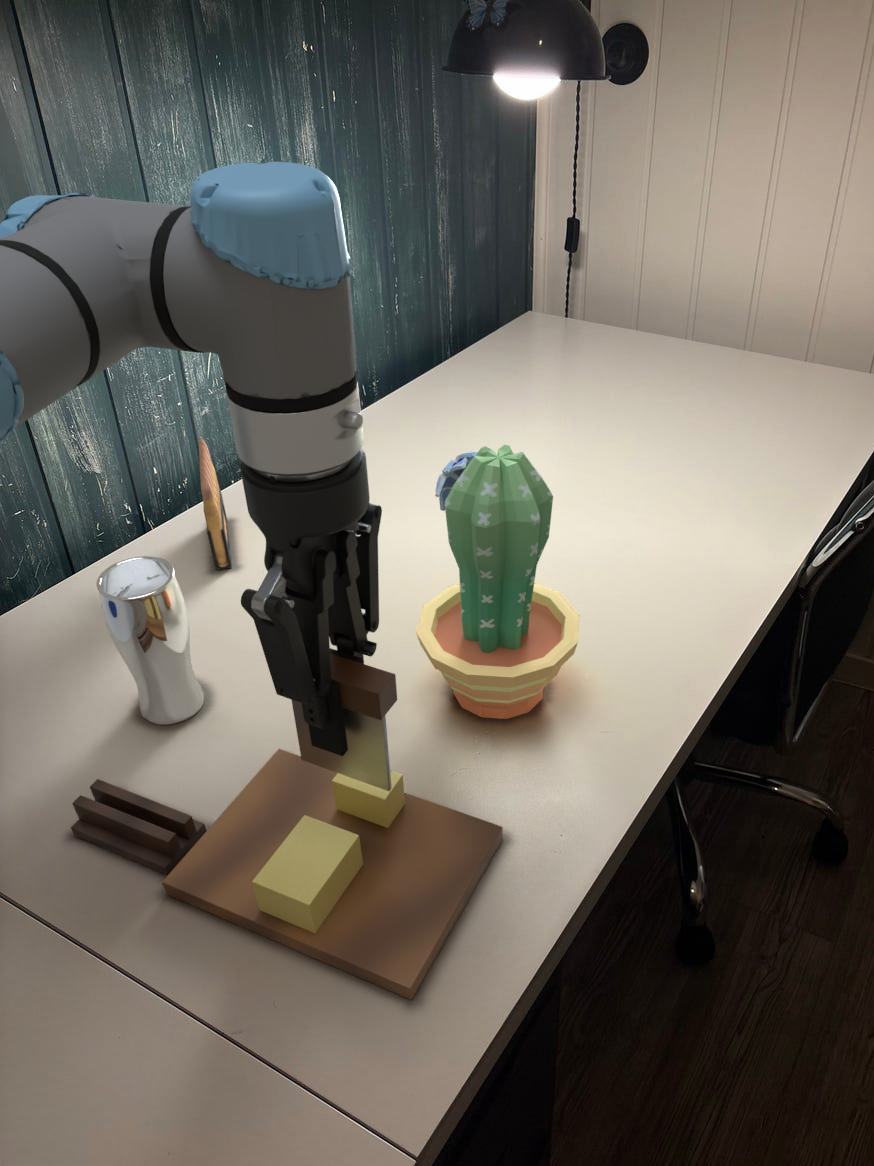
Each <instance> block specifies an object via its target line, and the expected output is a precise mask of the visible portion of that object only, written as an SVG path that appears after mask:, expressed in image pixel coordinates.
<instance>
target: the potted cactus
mask: <svg viewBox="0 0 874 1166" xmlns="http://www.w3.org/2000/svg"><path fill="white" fill-rule="evenodd" d="M441 472H442V473H440V474H439V476H438V478H437V481H436V485H435V495H434V497H436V498H439V499H438V500H439V509H440V511H442V512H445V520H446V529H447V539H448V544H449V547H450V550H451V552H452V554H453V558H454V559H455V562H456V564H457V567H458V576H459V583H458V584H454V585H450V586H448V587H446V588H445V589H443V591H441V592H440V593H439V594H437V595H436V596H435V597H433V598H431V600H430V601H428V602H426V603H425V604H424V605H422V609H421V612H420V615H419V619H418V623H417V626H416V630H415V634H416V636H417V639H418V643H419V645H420V646H421V648H422V649H423V651H424V654H426V656H427V658H428V659H429V661H430V663H431V664H432V666H433V668H434V669H435V670H436V671H439V672H440V673H441V675H442V677H443V678H444V679H445V681H446V683H447V684H448V686H449V687H450V688H451V689H452V694H453V696H454V697H455V698H456V700H457V702H458V703H459V705H460V706H461V708H462V709H464V710H466V711H469V712H470V713H472V714H474V715H476V716H478V717H480V718H483V719H484V718H485V719H498V720H499V719H500V720H508V719H511V718H514V717H518V716H521V715H525V714H528V713H530V711H531V710H533V708H535V707H536V706H537V705H538V704H539V703H540V702H541V701H542V700H543V699H544V698H543V697H544V688H545V687H546V686H547V685H549V684H550V682H552V681H553V680H554V678H556V677H557V675H558V673H559V671H560V670H561V667H562V666H564V664H565V663H566V662H568V660H569V659H570V658H571V657H572V656H574V654H575V652H576V649H577V646H578V643H579V634H580V633H579V632H580V619H581V617H580V614H579V613H578V611H576V610H575V608H574V607H573V606H572V605H571V604H570V602H569V601H568V600H567V599H566V598H565V596H564V595H563V594H562V593H561V592H559V591H556V590H554V589H551V588H549V587H546V586H544V585H541V584H540V583H537V582H535V580H536V574H537V567H538V563H539V561H540V560H541V559H540V558H541V556H542V554H543V552H544V549H545V547H546V544H547V542H548V540H549V538H550V531H551V521H552V520H551V519H552V511H553V501H554V495H553V493H552V490H551V489H550V487H549V486H548V484H547V483H546V481H545V479H544V478H543V476H542V475H541V473H540V472H539V471H538V469H536V467H535V466H534V465H533V464H532V462H531V461H530V460H529V458H528V457H527V456H526V454H525V453H524V452H523V451H520V452H516V453H514V452H513V450H512V447H511V445H509V444H503V445H501V446H500V447H499V448H498V449H497V453H496V451H494V450H493V449H492V448H490V447H488V446H486V445H484V446H482V447H480V449H479V450H478V451H477V452H476V451H473V450H469V451H465V452H464V453H461V454H458V455H456V457H455V459H451V460H450V461H449V462H448V463H447V464H446V465H445V467H444V468H443V469H442V470H441Z"/></svg>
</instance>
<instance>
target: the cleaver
mask: <svg viewBox="0 0 874 1166" xmlns="http://www.w3.org/2000/svg"><path fill="white" fill-rule="evenodd" d="M330 665H331V682H334V683H337V684H339V685H340V693H341V701H342V708H343V715H344V723H345V730H346V738H347V745H348V751H347V752H346V753H345V754H344V756H340V755H337V754H334V753H332V752H329V751H326V750H323V749H320V748H317V747H314V746H312V744H311V738H310V732H309V726H308V724H307V723H306V722H305V720H304V714H303V709H302V703H300V702H297V701H294V700H291V705H292V712H293V716H294V723H295V729H296V735H297V742H298V747H299V752H300V756H301V759H302V760H303V761H306V762H309V763H312V764H314V765H317V766H320V767H323V768H325V769H328V770H331V771H334V772H337V773H339V774H342V775H345V776H348V777H350V778H353V779H356V780H359V781H362V782H364V783H367V784H370V785H373V786H375V787H378V788H381V789H384V790H387V791H390V790H391V788H392V787H391V775H390V771H391V765H390V753H389V743H388V741H389V740H388V731H387V721H386V715H387V714H388V713H389V711H390V710H391V709H392V708H393V706H394V705H395V704H396V703H397V701H398V692H397V691H398V690H397V677H396V673H395V672H391V671H388V670H384V669H382V668H378V667H375V666H371V665H368V664H365V663H364V664H362V663H359V662H356V661H352V660H349V659H346V658H343V657H340V656H336V655H333V654H330Z"/></svg>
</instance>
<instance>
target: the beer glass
mask: <svg viewBox="0 0 874 1166" xmlns="http://www.w3.org/2000/svg"><path fill="white" fill-rule="evenodd" d="M96 588H97V591H98V596H99V600H100V604H101V605H100V606H101V609H102V614H103V617H104V621H105V625H106V627H107V631H108V633H109V635H110V639H111V640H112V642H113V643H114V646H115V648H116V650H117V652H118V654H119V655H120V657H121V659H122V660H123V662H124V664H125V665H126V667H127V668H128V671H129V673H130V674H131V676H132V677H133V679H134V681H135V684H136V688H137V693H138V706H139V711H140V714H141V715H142V717H143V718H144V720H146V721H148V722H149V723H151V724H155V725H174V724H178V723H182V722H184V721H186V720H189V719H190V718H192V717H193V716H194V715H195V714H197V713H198V712H199V711H200V710H201V709H202V707H203V706H204V702H205V692H204V689H203V687H202V686H201V684H200V682H199V680H198V678H197V677H196V674H195V671H194V669H193V663H192V647H191V627H190V619H189V614H188V609H187V604H186V601H185V598H184V594H183V591H182V589H181V585H180V583H179V580H178V579H177V576H176V573H175V569H174V566H173V565H172V564H171V563H170V562H169V561H168V560H166V559H163V558H161V557H157V556H135V557H131V558H127V559H123V560H120V561H118V562H115V563H114V564H112V565H110V566H108V567H107V568H106V569H105V570H103V571H102V572H101V574H100V575H99V576H98V578H97V580H96Z"/></svg>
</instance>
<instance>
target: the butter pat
mask: <svg viewBox="0 0 874 1166" xmlns="http://www.w3.org/2000/svg"><path fill="white" fill-rule="evenodd" d="M390 775H391V787H392V788H391V790H390V791H387V790H384V789H381V788H378V787H375V786H373V785H370V784H367V783H364V782H362V781H359V780H356V779H353V778H350V777H348V776H345V775H342V774H339V773H337V775H336V776H335V777H334V779H333V780H332V785H333V792H334V798H335V804H336V809H337V810H340V811H343V812H345V813H348V814H351V815H354V816H356V817H359V818H362V819H364V820H367V821H370V822H373V823H375V824H378V825H381V826H384V827H386V828H389V826H390V825H391V823H392V822H393V820H394V819H395V818H396V816H397V815H398V813H399V812H400V810H401V809H402V807H403V806H404V804H405V794H404V793H405V785H404V775H403V774H402V773H399V772H396V771H393V770H390Z"/></svg>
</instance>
